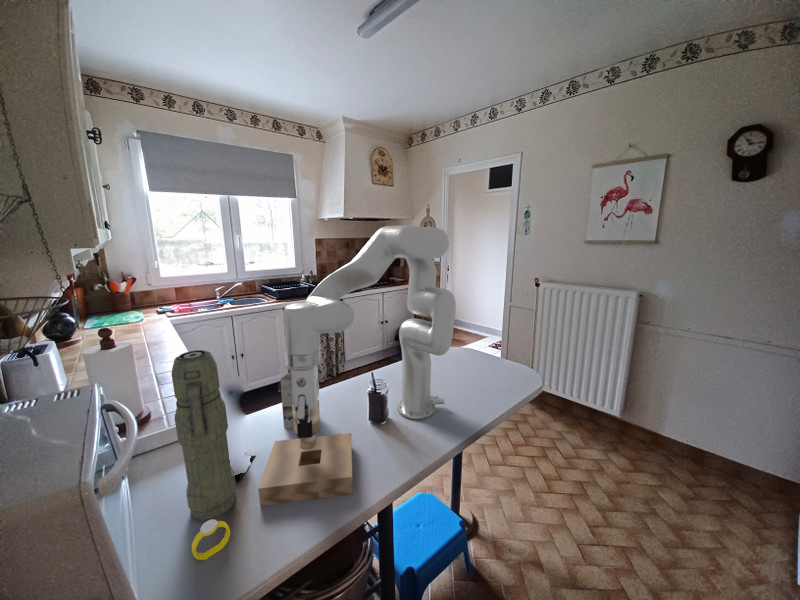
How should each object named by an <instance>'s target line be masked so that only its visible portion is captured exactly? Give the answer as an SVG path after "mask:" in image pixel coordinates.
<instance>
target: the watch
mask: <svg viewBox="0 0 800 600" xmlns="http://www.w3.org/2000/svg"><path fill="white" fill-rule="evenodd" d="M218 528H224V529H225V533H224V536H223V538H222V539H221V541H220V542H219V543H218V544H216V545H214V546H213V547H212V548H209V549H208V550H207V551H205V552H197V547H198V545H199V542H200V541H201V540H202V539H203V538H204V537H207V536H210V535H212V534H214V533H215V532H216V531H217V529H218ZM230 529H231V528H230V526H229V525H228V524H227V522H225V521H224V520H218V519H212V520H209V521H207V522H205V523H203V524H202V525H201V527H200V529H199V531H198V533H197V534H196V535H195V536H194V539H193V541H192V543H191V552H192V554H193V557H194V558H195V559H196V560H199V561H205V560H207V559H208V558H210V557H212V556H213V555H215V554H216V553H218V552H219V551H221V550H222V549H224V547H225V546H226V545H227V543H228V542H229V540H230V537H231V530H230Z"/></svg>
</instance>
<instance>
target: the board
mask: <svg viewBox="0 0 800 600" xmlns="http://www.w3.org/2000/svg"><path fill="white" fill-rule="evenodd" d="M352 449H353V448H352V432H350V433H349V432H348V433H341V434H338V433H337V434H331V435H321V436H316V445H315V446H314V447H313V448H312V449H308V450H304V449H302V448H301V447H300V438H291V439H284V440H283V439H281V440H274V442H273V444H272V448H271V452H270V454H269V457H268V460H267V463H266V465H265V469H264V471H263V474H262V477H261V480H260V482H259V485H258V490H257V491H258V497H259V506H260V507H263V506H271V505H279V504H287V503H294V502H301V501H308V500H309V501H310V500H316V499H324V498H331V497H338V496H339V497H340V496H345V495H346V496H347V495H351V494H352V495H353V494H354V493H353V484H354V483H353V454H352Z"/></svg>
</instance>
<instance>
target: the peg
mask: <svg viewBox="0 0 800 600" xmlns="http://www.w3.org/2000/svg"><path fill="white" fill-rule="evenodd" d="M305 408H308V406H305ZM305 415H307V416H308V411H305ZM311 420H312V432H313V435H312V437H309V438H299V439H300V447H301V448H302V449H304V450H308V449H312V448H313V447H314V446H315V445H316V437H317V436H316V435H317V434H319V432H320V431H321V413H320V400H319V399H318V403H317V408H316V409H315V410H311ZM293 421H294V428H293V433H294V435H295V436H296V437H297V438H298V431H297V412H296V411H294V408H293Z"/></svg>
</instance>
